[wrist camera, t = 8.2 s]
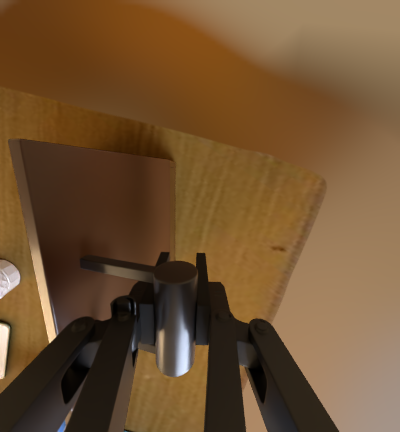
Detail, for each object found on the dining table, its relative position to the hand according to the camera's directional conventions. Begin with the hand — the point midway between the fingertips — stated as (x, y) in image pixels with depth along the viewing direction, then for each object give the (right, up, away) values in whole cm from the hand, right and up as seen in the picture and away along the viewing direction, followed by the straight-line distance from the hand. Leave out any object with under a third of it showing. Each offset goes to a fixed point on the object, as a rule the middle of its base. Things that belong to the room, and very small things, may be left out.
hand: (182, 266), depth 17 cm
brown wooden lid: (-5, +1, +1) cm, 5 cm away
